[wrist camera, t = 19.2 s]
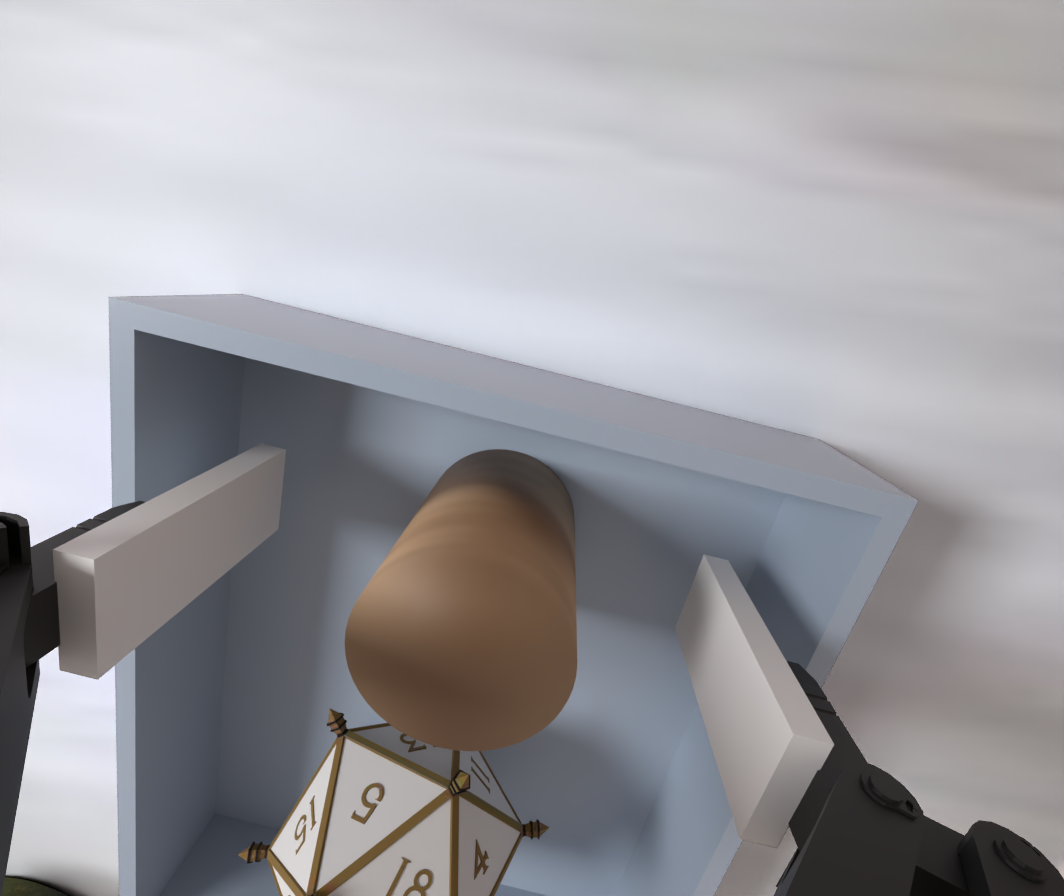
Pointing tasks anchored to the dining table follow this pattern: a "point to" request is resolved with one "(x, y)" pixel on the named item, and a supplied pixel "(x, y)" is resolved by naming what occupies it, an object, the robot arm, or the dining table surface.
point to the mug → (27, 888)
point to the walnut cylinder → (473, 609)
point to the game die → (395, 821)
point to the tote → (371, 532)
